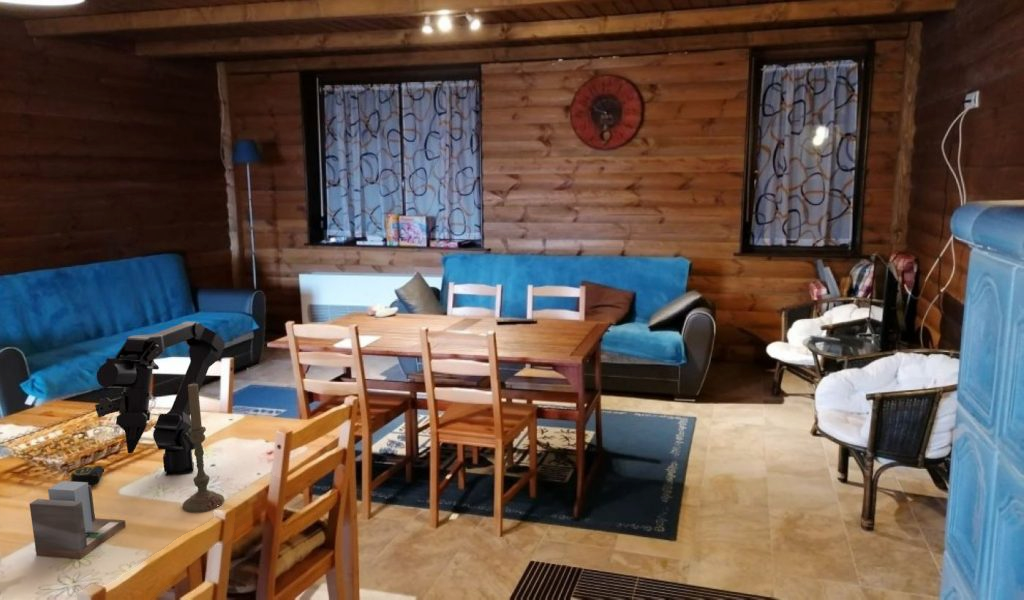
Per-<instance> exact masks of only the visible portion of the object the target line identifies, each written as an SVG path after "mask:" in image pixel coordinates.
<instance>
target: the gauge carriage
mask: <svg viewBox="0 0 1024 600" xmlns="http://www.w3.org/2000/svg"><path fill="white" fill-rule="evenodd" d="M47 490H48V491H47V492H48V500H64V501H81V502H82V508H83V516H84V524H85V532H86V535H88V534H94V535H97V534H99V532H92V531H94V530H93V521H95V518H96V516H95V515H96V514H95V507H94V506H95V505H94V499H93V497H94V496H93V490H92V485H88V482H71V480H70V481H68V480H67V481H66V480H62V481H59V482H58V483H56V484H54V485H53V486H50V487H49V488H47Z"/></svg>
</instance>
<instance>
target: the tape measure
mask: <svg viewBox="0 0 1024 600" xmlns="http://www.w3.org/2000/svg"><path fill="white" fill-rule="evenodd" d="M103 473H105V468H103V466H102V465H96V466H90V465H89V466H88V465H87V466H84V467H83V466H82V467H79V468H77V469H74V470H73V471H72V472H71V475H70V482H88V485H91V486H94V485H96V484H99V483H100V480H101V478H102V477H103Z"/></svg>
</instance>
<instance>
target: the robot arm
mask: <svg viewBox="0 0 1024 600" xmlns="http://www.w3.org/2000/svg"><path fill="white" fill-rule="evenodd" d="M183 342H184V343H185V345H187V346H188V355H189V360H190V362H189V365H188V367H187V369H186V372H185V374H184V376H183V379H182V381H181V384H180V386H179V389H178V391H177V394H176V396H175V399H174V401H173V403H172V405H171V409H170V410H169V411H168V412H166V413H162V412H161V413H160V414H159V415H158V417H157V420H156V422H155V425H154V426H152V427H153V429H154V430H153V432H152V437H153V440H154V442H155V445H156V447H157V450H164V453H163V456H162V460H163V461H162V462H163V471H164V472H165V476H166V477H169V476H176V475H183V474H189V473H193V472H194V468H195V463H194V460H193V450H194V451H195V449H194V448H195V444H194V443H192V442H191V441H190V437H191V434H189V432H188V430H189V429H190V428H192V426H191V415H190V404H189V393H188V385H190V384H193V382H194V384H198V390H199V392H200V391H201V388H202V386H203V384H204V381H205V380H206V379H205V378H206V376H207V373H208V371H209V369H210V367H212V365H214V364H215V363H216V362H218V361H219V359H220V357H221V356H222V353H223V352H224V350H225V345H226V344H225V340H224V339H223V338H222V336H221V335H219V334H218V333H217V332H215V331H213V330H211V329H209V328H207V327H206V326H204V325H203V324H202V323H200V322H198V321H183V322H181V323H180V324H177V325H175V326H172V327H170V328H169V327H168V328H166V329H163V330H161V331H157V332H155V333H150V334H148V333H147V334H136V335H135V334H134V335H130V336H128V337H127V338H126V339H125V342H124V343H123V345H122V346H121V348H120V349H119V351H118V352H117V354H116V355H115V356H114V358H113V357H106V359H105V362H104V363H103V364H102V365H101V366H100V367H99V368H98V371H97V372H96V381H97V382H98V384H99V385H100V386H101V387H103V388H123V391H122V392H121V395H120V397H118V398H114V399H110V398H109V397H105V398H101V399H100V400H99V403H97V404H94V407H95V412H96V415H97V417H98V418H99V419H100V418H103V417H105V416H107V415H110V414H115V413H117V412H118V415H117V416H116V419H115V425H117V426H119V427H120V428H121V429H122V430H123V432H124V433H125V440H126V441H125V442H126V443H125V444H126V448H127V449H126V450H127V453H128V454H133V453H134V451H135V450H136V448H137V445H138V444H139V442H140V441H141V438H142V436H143V435H144V432H145V430H146V429H147V427H148V425H149V423H148V422H149V421H150V420H151V411H150V408H149V406H150V397H151V393H152V392H151V388H152V387H151V386H152V380H153V379H152V378H153V371H154V370H159V369H160V367H159V365H158V364H157V363H156V362H155V360H156V359H157V358H159V357H160V356H162V355H163V354H164V352H165V350H166V349H168V348H170V347H173V346H176V345H178V344H181V343H183Z"/></svg>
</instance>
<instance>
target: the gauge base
mask: <svg viewBox="0 0 1024 600" xmlns="http://www.w3.org/2000/svg"><path fill="white" fill-rule="evenodd" d="M29 511H30V518H31V525H32V532H33V540H34V549H35V554H36V557H45V556H47V558H49V557H50V558H51V557H52V558H59V559H60V558H62V559H72V560H73V559H76V560H81V559H83V558H84V557H85V556H87V555H88V554H90V552H92V551H94V550H95V549H96V548H98V547H100V546H101V545H102V544H104V543H105V542H106V541H107V540H109V539H110V538H112V537H113V536H114V535H115V534H117V533H119V532H120V531H121V530H122V529H123V528H126V520H125V519H113V518H96V517H95V521H93V530H94V531H92V532H99V534H97V535H94V534H88V535H86V532H85V524H84V516H83V508H82V502H81V501H64V500H49V499H47V498H46V499H45V498H37V499H35V500H34V501H32V502H30V503H29Z"/></svg>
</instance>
